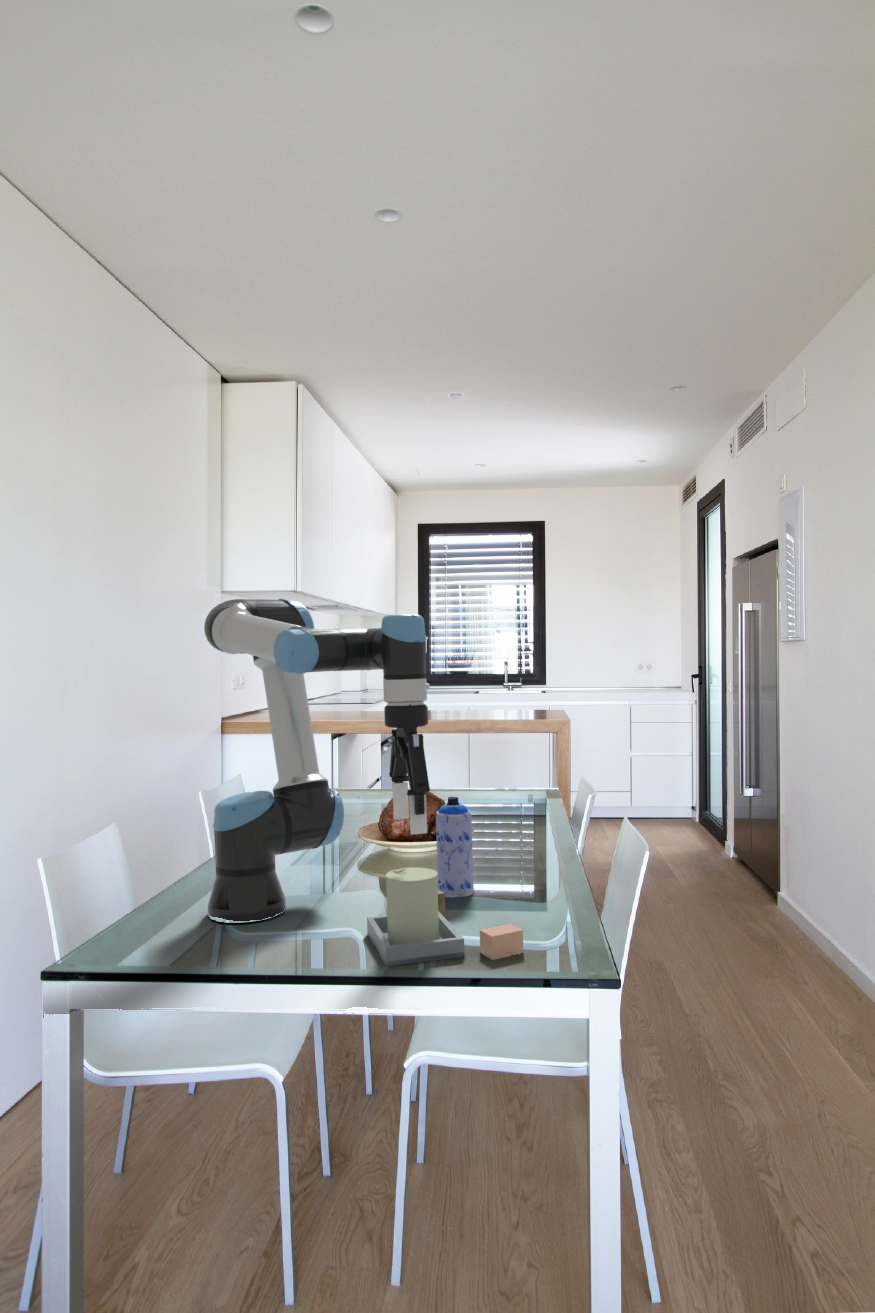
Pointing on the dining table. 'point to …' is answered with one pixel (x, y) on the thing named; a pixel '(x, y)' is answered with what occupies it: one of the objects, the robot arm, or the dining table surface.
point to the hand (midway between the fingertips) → (409, 826)
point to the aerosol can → (454, 849)
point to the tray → (415, 944)
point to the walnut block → (441, 902)
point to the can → (412, 905)
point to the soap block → (501, 941)
